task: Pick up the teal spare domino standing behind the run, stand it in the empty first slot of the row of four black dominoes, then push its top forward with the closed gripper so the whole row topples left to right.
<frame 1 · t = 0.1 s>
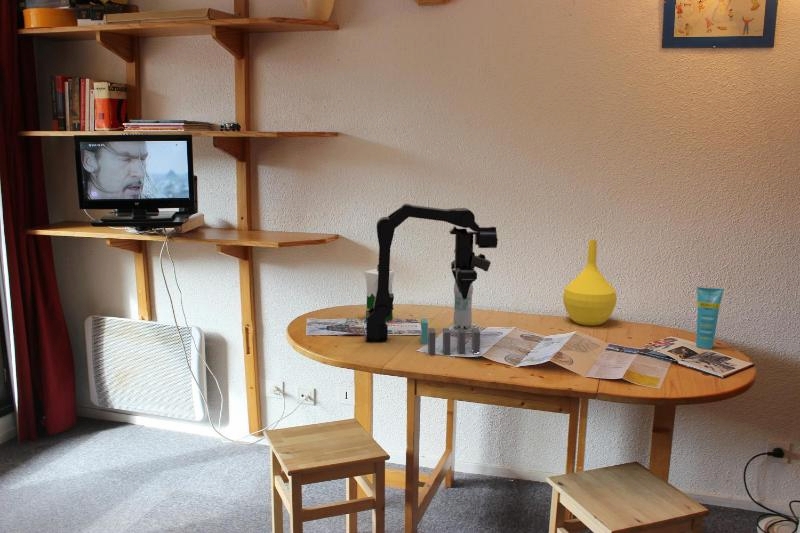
hand: (462, 295, 218), 15 cm above the table, fingers open, 9 cm apart
domino 1: (424, 341, 218), on the table
tube: (704, 347, 214), on the table
domino 4: (460, 352, 207), on the table
domino 3: (446, 352, 207), on the table
vase: (588, 322, 242), on the table
domino 5: (475, 352, 208), on the table
domino 2: (431, 352, 207), on the table
milk carton: (379, 320, 244), on the table
bottle: (462, 327, 235), on the table
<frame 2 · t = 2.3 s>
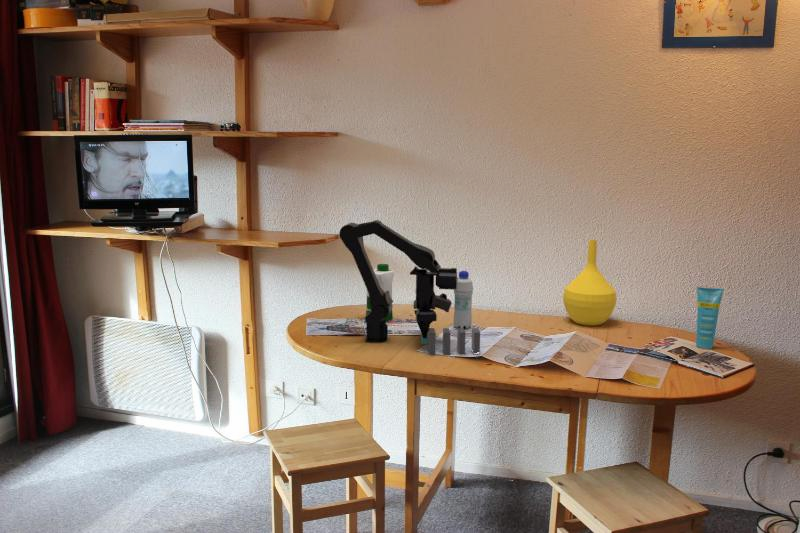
hand: (424, 335, 217), 2 cm above the table, fingers closed on domino 1, 5 cm apart
domino 1: (424, 341, 218), on the table, touching gripper
everything else where it was.
when the fingers open (3 cm above the table, at t = 6.3 s): domino 1 stays where it is, on the table.
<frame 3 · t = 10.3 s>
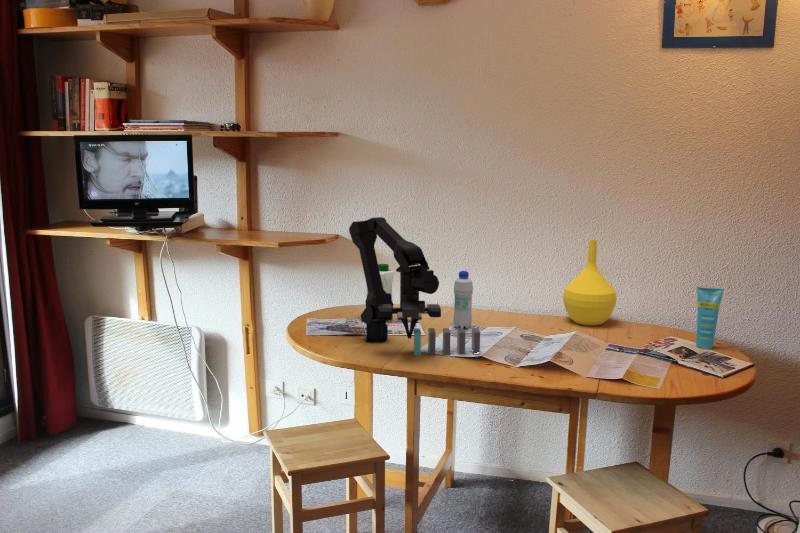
hand: (409, 338, 206), 5 cm above the table, fingers closed
domino 1: (417, 352, 207), on the table, touching gripper
everything else where it was.
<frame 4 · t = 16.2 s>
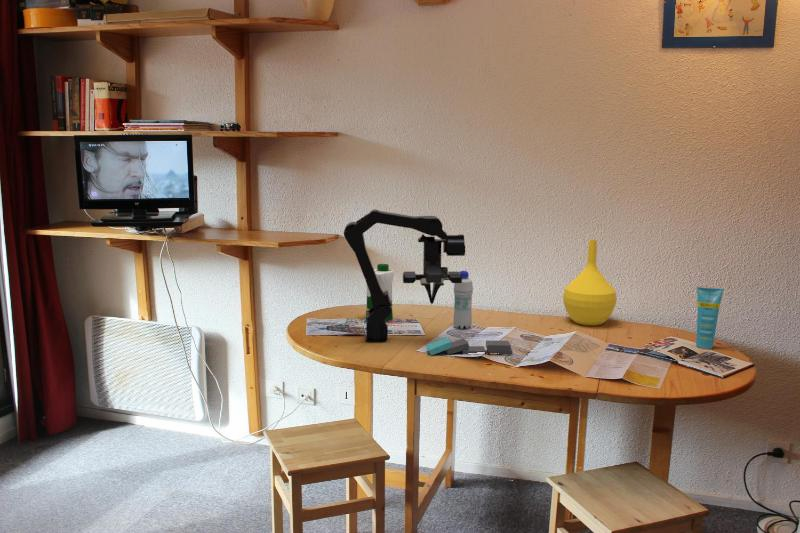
hand: (431, 303, 219), 12 cm above the table, fingers closed
domino 1: (428, 350, 206), point 1 cm above the table, tilted 70°, touching domino 2
domino 4: (486, 345, 207), point 2 cm above the table, tilted 90°
domino 3: (462, 351, 207), on the table, tilted 90°
domino 5: (488, 351, 207), on the table, tilted 90°
domino 2: (445, 349, 207), point 1 cm above the table, tilted 76°, touching domino 1
everything else where it was.
at the end: domino 5 tilted 90°; domino 1 tilted 69°; domino 1 inside the target area (2.3 cm from its centre), point 0.8 cm above the table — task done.
